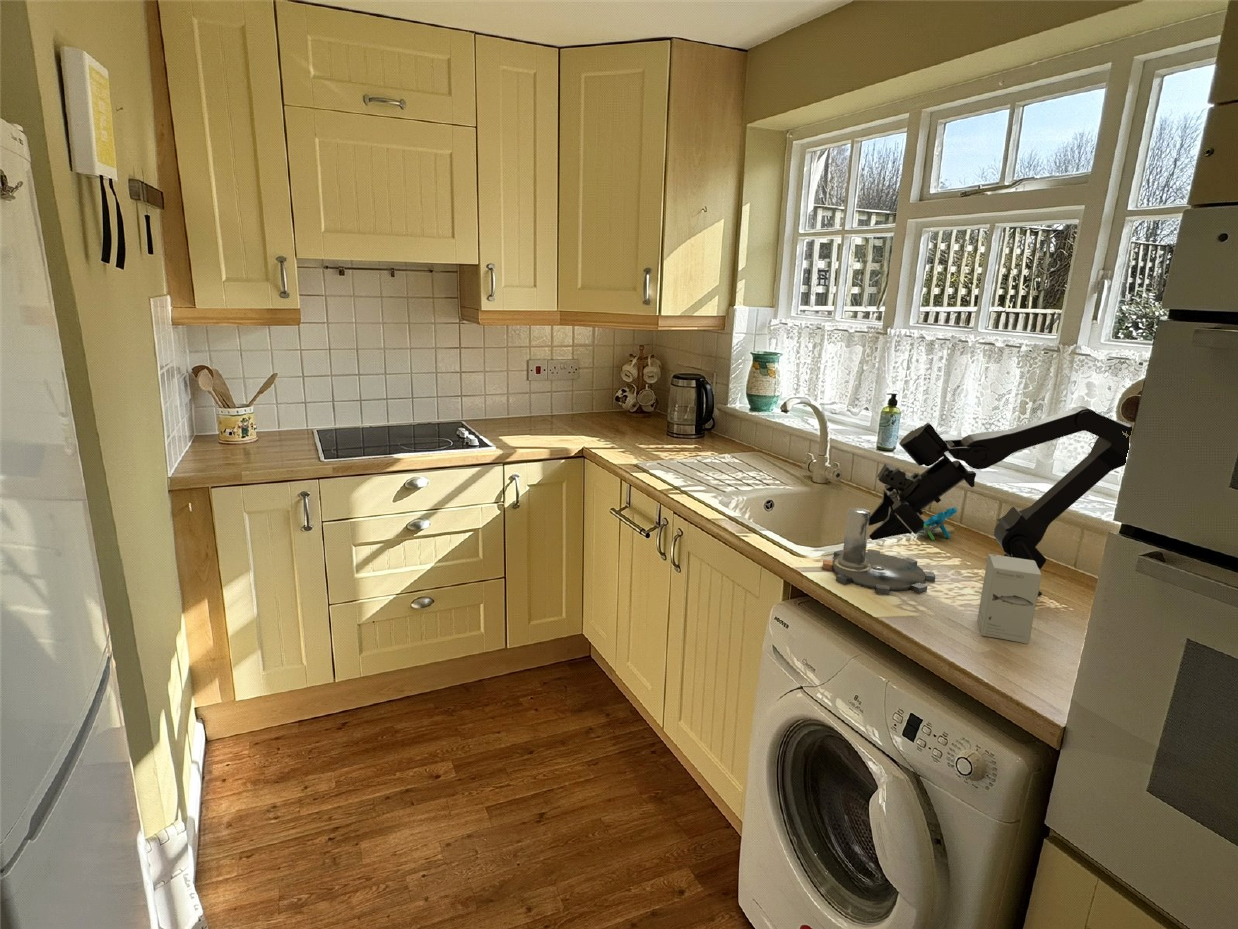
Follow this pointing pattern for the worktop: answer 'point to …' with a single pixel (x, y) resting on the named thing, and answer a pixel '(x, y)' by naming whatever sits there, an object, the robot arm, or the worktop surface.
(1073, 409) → the robot arm
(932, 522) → the cyan green stick cluster
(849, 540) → the pin
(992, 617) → the supplement box
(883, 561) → the sprocket plate
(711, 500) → the worktop surface
